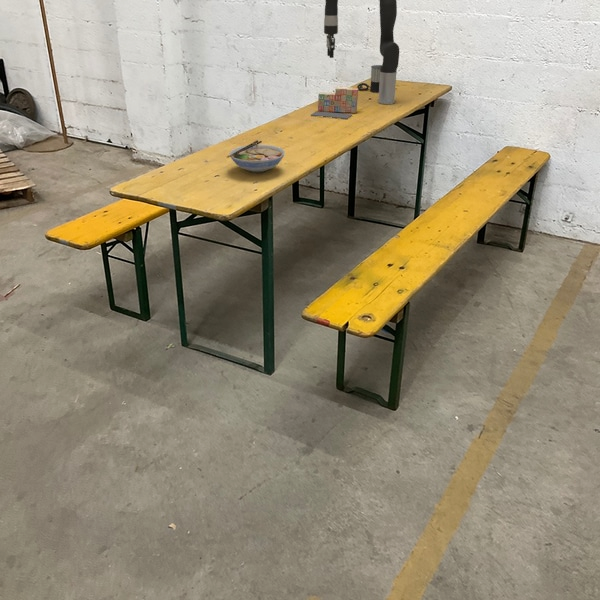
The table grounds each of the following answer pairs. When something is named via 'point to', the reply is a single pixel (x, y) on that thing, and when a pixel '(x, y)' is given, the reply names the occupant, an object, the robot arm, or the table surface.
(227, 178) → the table surface
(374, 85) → the milk frother
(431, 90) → the table surface
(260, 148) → the ramen bowl
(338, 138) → the table surface
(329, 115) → the charcoal rubber mat
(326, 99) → the stack of blocks
